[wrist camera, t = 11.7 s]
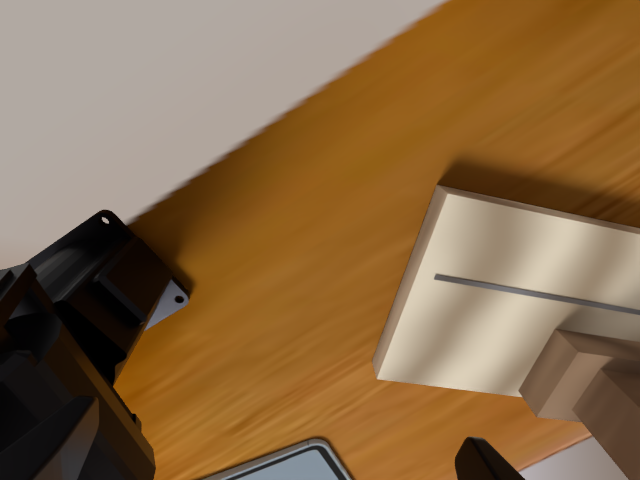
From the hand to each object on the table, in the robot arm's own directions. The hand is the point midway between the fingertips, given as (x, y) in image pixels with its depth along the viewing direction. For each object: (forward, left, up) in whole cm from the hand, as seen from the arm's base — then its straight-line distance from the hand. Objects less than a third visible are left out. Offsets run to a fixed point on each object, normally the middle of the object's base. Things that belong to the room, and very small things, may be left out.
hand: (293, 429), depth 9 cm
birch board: (+10, -12, -12) cm, 20 cm away
